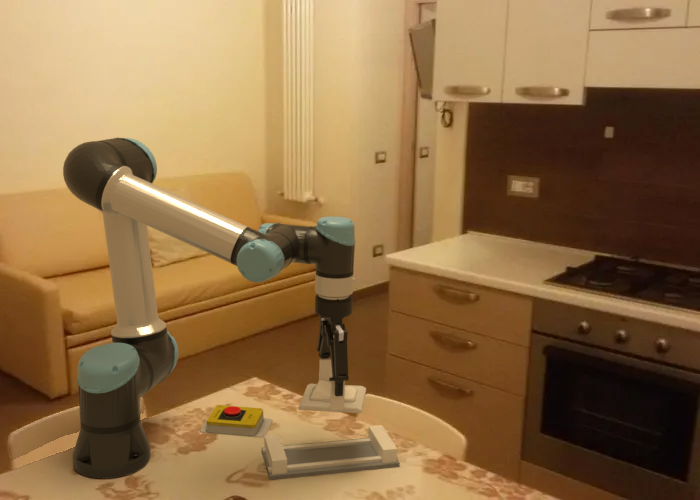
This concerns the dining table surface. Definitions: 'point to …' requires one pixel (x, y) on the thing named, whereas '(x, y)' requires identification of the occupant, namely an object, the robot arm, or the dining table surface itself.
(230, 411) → the emergency button
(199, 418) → the dining table surface
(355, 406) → the light switch
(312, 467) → the rail board
